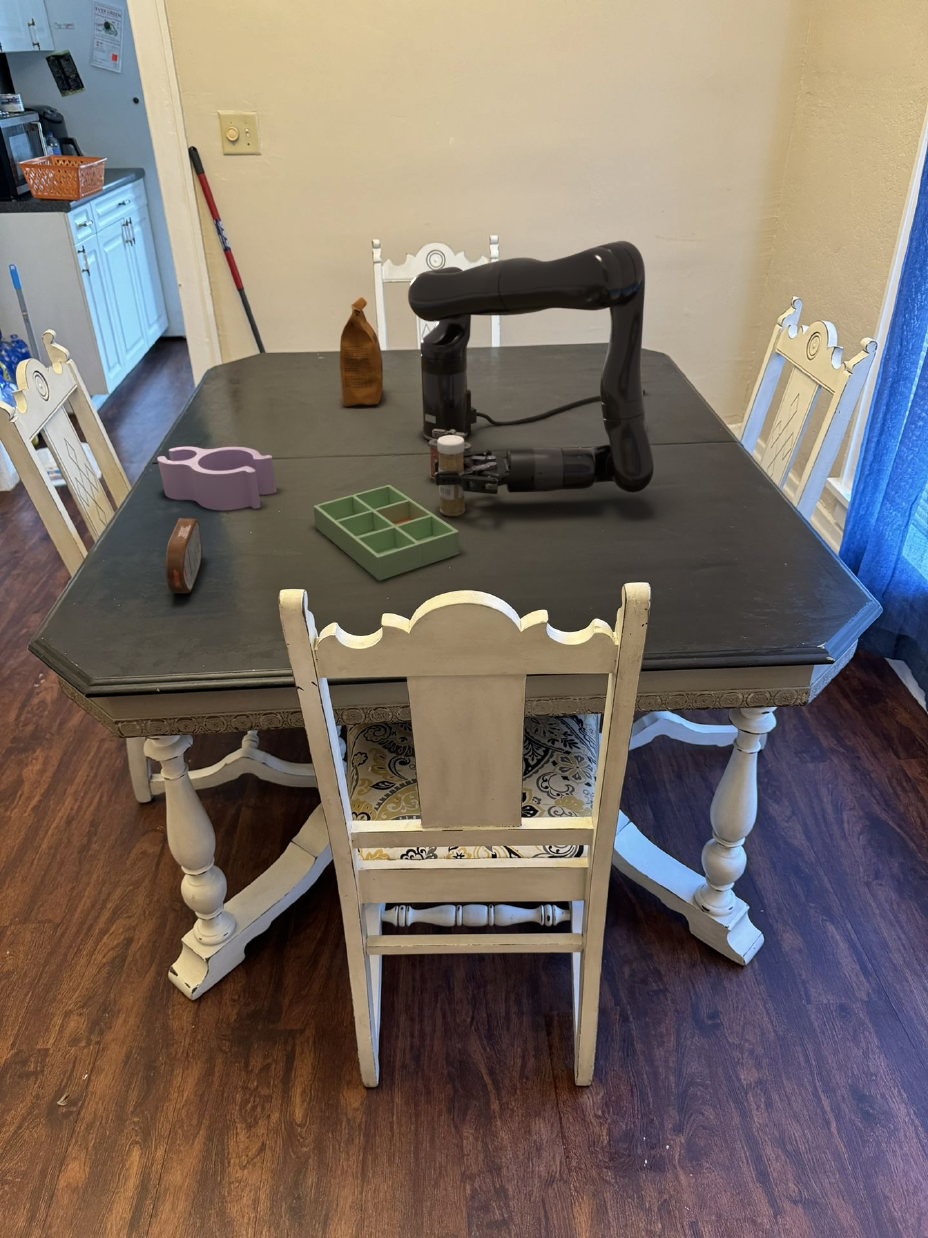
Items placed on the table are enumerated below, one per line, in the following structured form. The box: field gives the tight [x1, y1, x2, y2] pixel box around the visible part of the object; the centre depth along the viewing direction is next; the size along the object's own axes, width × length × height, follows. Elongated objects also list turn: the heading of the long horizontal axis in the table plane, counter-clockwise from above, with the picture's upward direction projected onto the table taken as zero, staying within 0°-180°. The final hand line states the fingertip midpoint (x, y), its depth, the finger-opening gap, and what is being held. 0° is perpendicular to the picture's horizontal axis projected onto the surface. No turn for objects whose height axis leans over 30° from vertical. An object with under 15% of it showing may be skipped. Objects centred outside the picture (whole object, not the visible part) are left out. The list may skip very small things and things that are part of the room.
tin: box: [165, 517, 203, 595], centre depth 132 cm, size 15×3×8 cm, turn 5°
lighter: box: [428, 429, 472, 483], centre depth 161 cm, size 8×3×10 cm, turn 71°
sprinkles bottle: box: [437, 435, 466, 517], centre depth 149 cm, size 5×5×13 cm
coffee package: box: [339, 297, 384, 407], centre depth 197 cm, size 10×12×22 cm
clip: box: [156, 446, 277, 511], centre depth 158 cm, size 20×12×7 cm, turn 75°
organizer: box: [312, 484, 460, 581], centre depth 143 cm, size 15×22×4 cm
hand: (435, 472), depth 149 cm, fingers closed on sprinkles bottle, 4 cm apart
